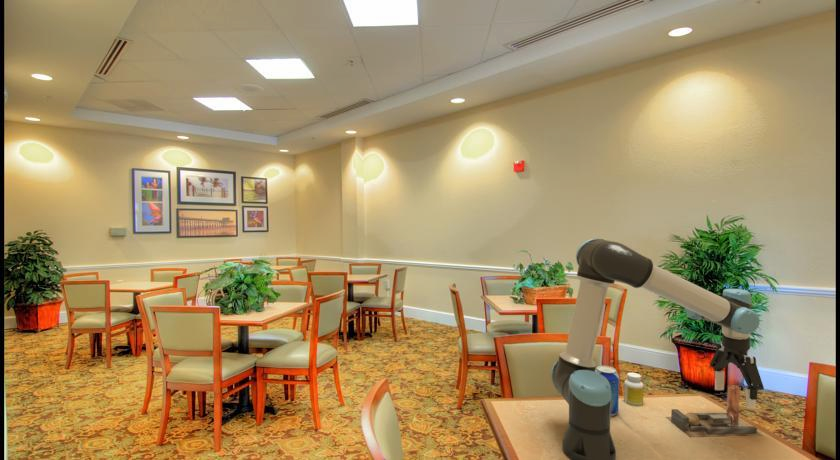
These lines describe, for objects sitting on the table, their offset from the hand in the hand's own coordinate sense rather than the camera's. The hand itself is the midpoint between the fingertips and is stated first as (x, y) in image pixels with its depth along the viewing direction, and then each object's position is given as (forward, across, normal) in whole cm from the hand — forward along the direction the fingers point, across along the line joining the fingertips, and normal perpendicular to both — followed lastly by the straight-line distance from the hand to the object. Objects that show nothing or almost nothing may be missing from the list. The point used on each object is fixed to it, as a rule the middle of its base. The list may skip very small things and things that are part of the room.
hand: (734, 398), depth 142 cm
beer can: (+10, +13, +37) cm, 41 cm away
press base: (+10, 0, +7) cm, 13 cm away
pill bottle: (+10, +18, +24) cm, 32 cm away
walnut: (+9, 0, +14) cm, 17 cm away
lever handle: (+9, 0, +3) cm, 9 cm away
